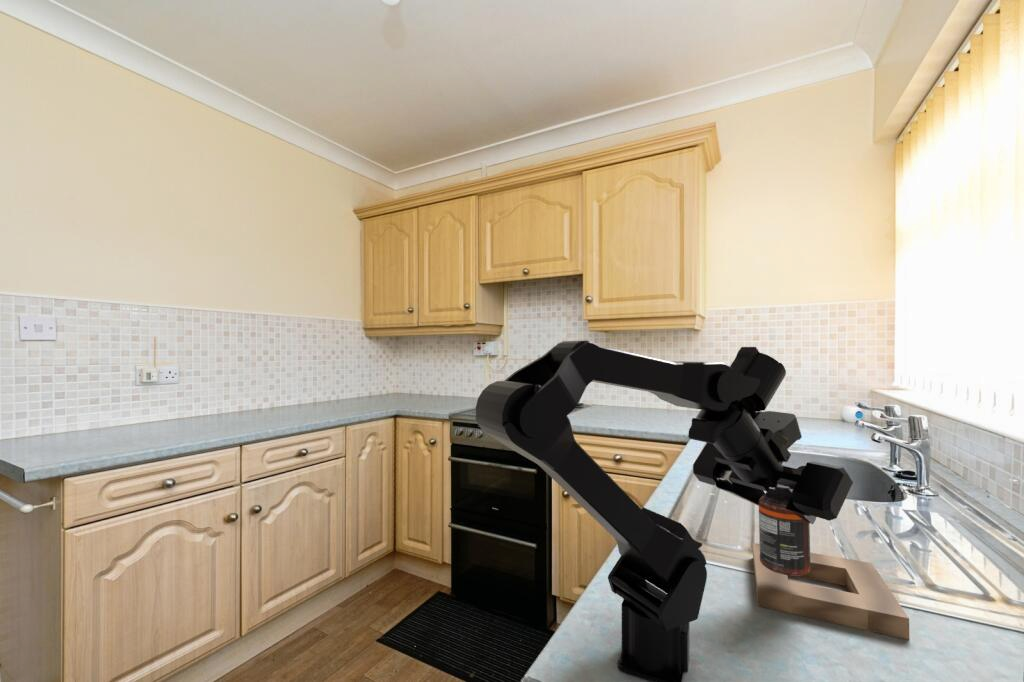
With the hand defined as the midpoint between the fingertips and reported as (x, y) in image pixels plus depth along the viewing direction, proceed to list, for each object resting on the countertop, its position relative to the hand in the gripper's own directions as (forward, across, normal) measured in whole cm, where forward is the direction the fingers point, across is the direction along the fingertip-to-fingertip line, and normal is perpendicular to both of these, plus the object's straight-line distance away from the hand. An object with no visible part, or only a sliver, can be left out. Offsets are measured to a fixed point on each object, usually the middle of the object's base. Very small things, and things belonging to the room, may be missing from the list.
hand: (789, 513), depth 62 cm
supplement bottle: (+4, 0, +6) cm, 7 cm away
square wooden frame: (+14, 0, +4) cm, 14 cm away
